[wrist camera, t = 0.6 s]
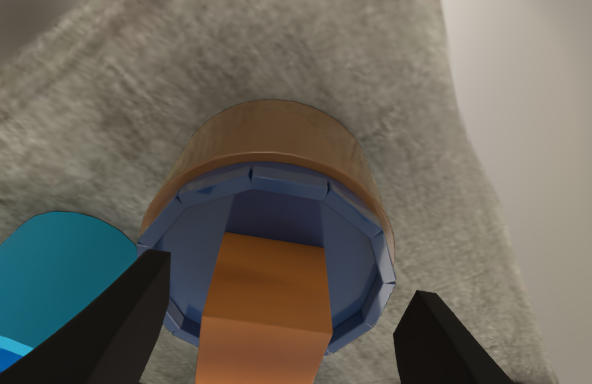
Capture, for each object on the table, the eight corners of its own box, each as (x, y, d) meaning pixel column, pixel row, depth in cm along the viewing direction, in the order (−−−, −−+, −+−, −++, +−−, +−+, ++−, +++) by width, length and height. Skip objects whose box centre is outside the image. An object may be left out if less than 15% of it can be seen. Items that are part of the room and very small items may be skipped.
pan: (341, 276, 24) (357, 380, 18) (174, 250, 23) (130, 352, 17) (399, 122, 19) (450, 199, 12) (181, 78, 17) (119, 139, 11)
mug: (90, 192, 21) (-13, 306, 14) (170, 286, 25) (121, 410, 18) (-60, 255, 23) (-211, 378, 16) (34, 330, 27) (-55, 455, 20)
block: (303, 313, 17) (305, 403, 13) (215, 300, 16) (193, 390, 13) (324, 247, 14) (333, 333, 11) (224, 231, 14) (201, 315, 11)
